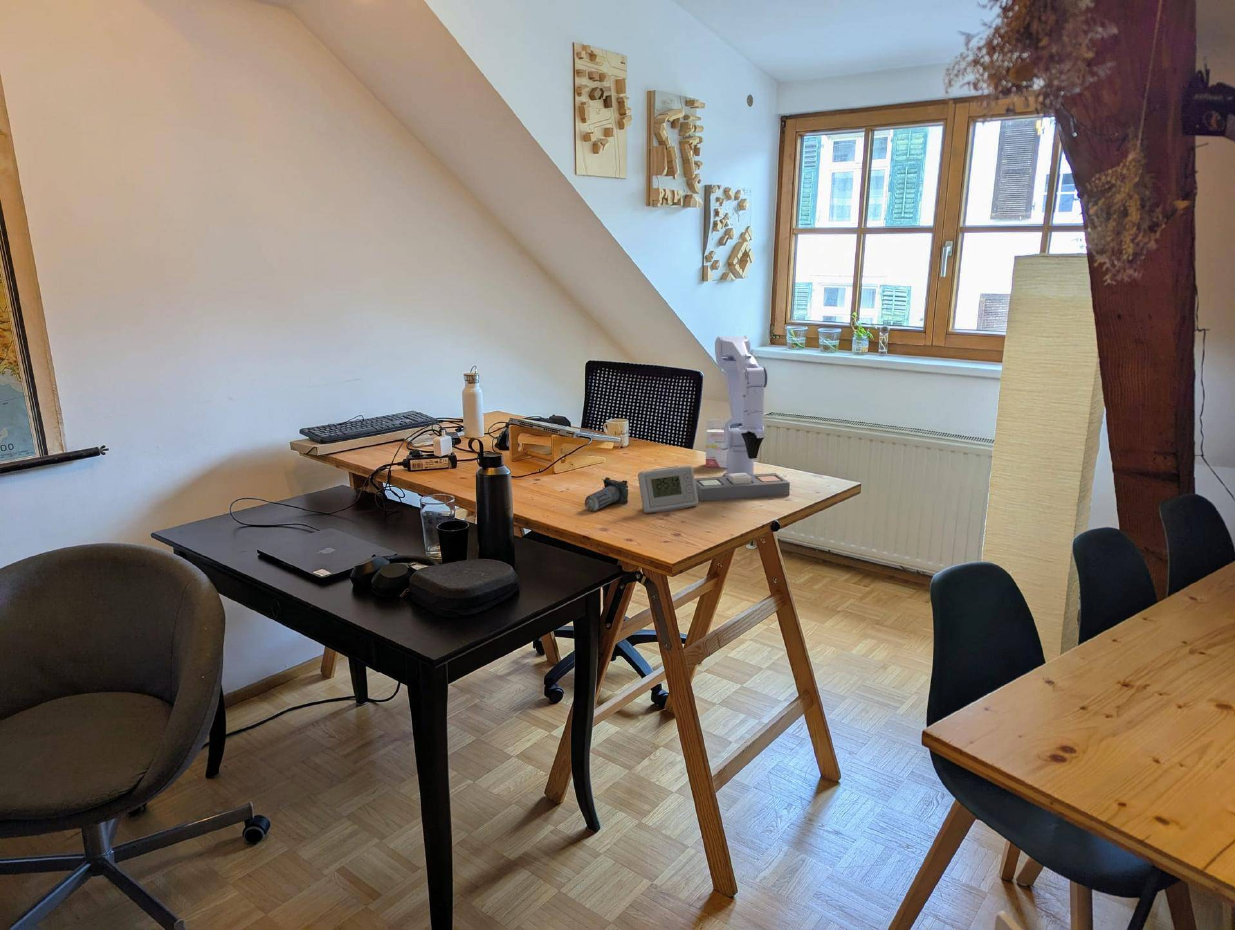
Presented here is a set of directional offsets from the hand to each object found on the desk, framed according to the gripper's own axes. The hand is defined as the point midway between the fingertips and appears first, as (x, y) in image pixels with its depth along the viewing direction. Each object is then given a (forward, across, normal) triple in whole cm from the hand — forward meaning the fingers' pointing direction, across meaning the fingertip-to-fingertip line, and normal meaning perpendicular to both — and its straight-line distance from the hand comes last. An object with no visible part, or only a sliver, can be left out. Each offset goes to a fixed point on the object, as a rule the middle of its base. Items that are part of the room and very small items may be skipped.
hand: (752, 458), depth 224 cm
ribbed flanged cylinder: (+9, +8, -44) cm, 45 cm away
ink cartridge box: (+9, -28, -2) cm, 29 cm away
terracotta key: (+7, +3, +4) cm, 9 cm away
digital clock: (+9, +14, -27) cm, 32 cm away
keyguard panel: (+9, +3, -5) cm, 11 cm away
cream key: (+6, +3, -5) cm, 8 cm away
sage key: (+7, +4, -13) cm, 15 cm away
